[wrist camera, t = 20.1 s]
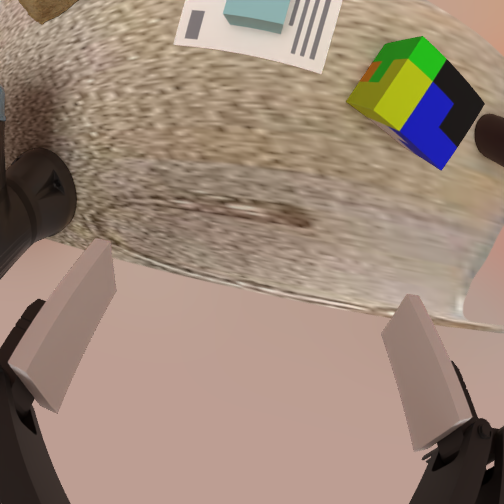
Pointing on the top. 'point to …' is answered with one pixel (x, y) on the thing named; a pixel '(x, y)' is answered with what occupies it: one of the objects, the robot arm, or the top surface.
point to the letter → (264, 32)
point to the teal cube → (257, 14)
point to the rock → (46, 8)
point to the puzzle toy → (418, 99)
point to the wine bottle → (491, 137)
